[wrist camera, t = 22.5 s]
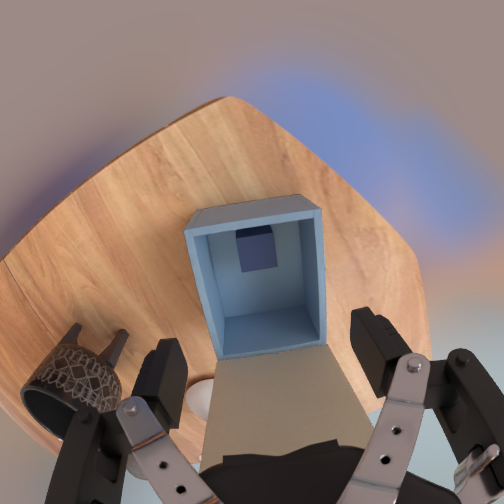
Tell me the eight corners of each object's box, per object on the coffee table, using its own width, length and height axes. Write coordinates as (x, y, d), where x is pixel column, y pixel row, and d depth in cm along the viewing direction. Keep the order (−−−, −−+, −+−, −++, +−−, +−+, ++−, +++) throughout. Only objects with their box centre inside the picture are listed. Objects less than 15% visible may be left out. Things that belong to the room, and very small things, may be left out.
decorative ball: (135, 430, 48) (126, 465, 39) (174, 447, 51) (169, 481, 41) (123, 442, 51) (114, 473, 41) (158, 458, 53) (153, 488, 44)
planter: (104, 297, 36) (46, 378, 20) (155, 359, 41) (128, 449, 24) (59, 324, 38) (7, 392, 21) (104, 377, 42) (72, 451, 25)
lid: (197, 479, 13) (215, 507, 14) (385, 447, 13) (375, 481, 14) (216, 361, 30) (225, 394, 30) (327, 343, 29) (328, 377, 30)
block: (235, 228, 33) (235, 238, 29) (269, 222, 33) (273, 232, 29) (241, 259, 34) (241, 272, 31) (273, 254, 34) (277, 266, 31)
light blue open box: (196, 210, 33) (182, 230, 25) (300, 193, 33) (321, 208, 25) (220, 319, 38) (217, 361, 30) (309, 305, 38) (326, 343, 30)
